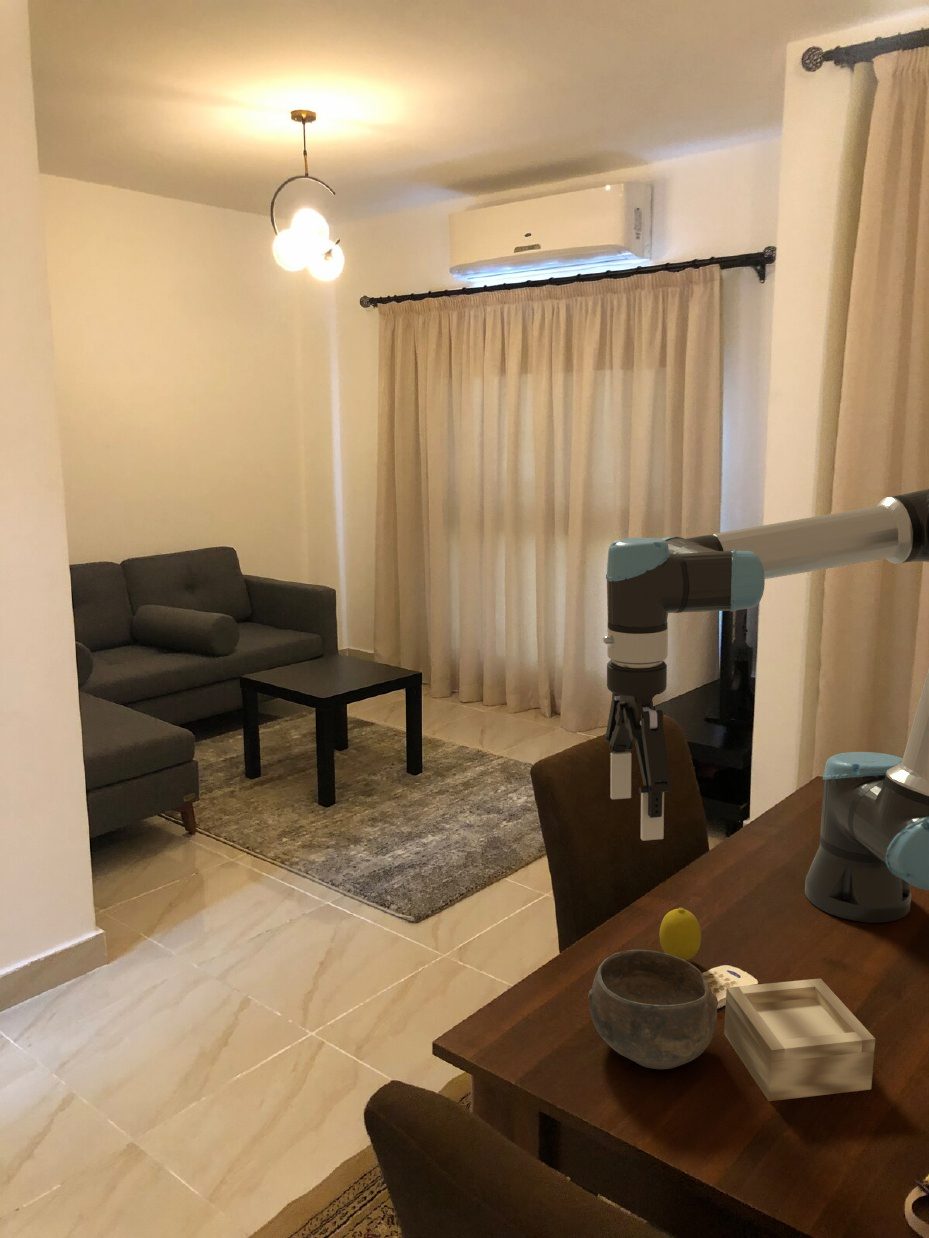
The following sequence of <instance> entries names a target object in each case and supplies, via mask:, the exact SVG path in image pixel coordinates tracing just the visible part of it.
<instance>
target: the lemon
mask: <svg viewBox="0 0 929 1238" xmlns="http://www.w3.org/2000/svg"><path fill="white" fill-rule="evenodd" d="M659 942H660V943H659V944H660V947H661V949H662V951H663V953H666V954H670V955H673V956H676V957H679V958H681V959H683V960H685V961H689V960H691V959H692V958H694V957H695V956H696V955H697V953H698V952H699V949H700V946H701V942H702V931H701V926H700V923H699V921H698V919H697V917H696V916H695V915H694V914H693V913H692V912H691V911H690V910H688V909H685V908H683V907H678V908H675V909H674V908H673V909H672V910H670V911H668V912H667V913H666V914H665V915H664V917H663V919H662V921H661V923H660V927H659Z"/></svg>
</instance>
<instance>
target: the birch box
mask: <svg viewBox="0 0 929 1238" xmlns="http://www.w3.org/2000/svg"><path fill="white" fill-rule="evenodd" d="M725 991H726V992H725V1010H724V1011H725V1012H724V1014H725V1015H724V1030H723V1031H724V1032H723V1034H724V1036H725V1037H726V1040H727V1041H729V1043H730V1045H731V1046H732V1048H733V1049H734V1051H735V1052H736V1054H737V1056H738V1057H739V1059H740V1061H742V1063H743V1064H744V1066H745V1068H746V1069H747V1071H748V1072H749V1074H750V1076H751V1077H752V1078H753V1080H754V1081H755V1083H756V1084H757V1086H758V1087H759V1089H760V1091H761V1092H762V1094H763V1096H764V1097H765V1098H766V1100H767V1102H772V1101H782V1100H790V1099H800V1098H808V1097H816V1096H824V1095H833V1094H834V1095H835V1094H841V1093H842V1094H843V1093H851V1092H859V1091H867V1090H868V1091H869V1090H872V1084H873V1083H872V1082H873V1072H874V1059H875V1049H876V1048H875V1046H876V1038H875V1037H874V1036H873V1035H872V1033H870V1031H869V1030H868V1029H867V1028H866V1027H865V1026H864V1025H863V1023H862V1022H861V1021H860V1020H859V1019H858V1018H857V1017H856V1016H855V1014H853V1013H852V1011H851V1010H850V1009H849V1008H848V1007H847V1006H846V1005H845V1004H844V1002H843V1001H842V1000H841V999H840V998H839V997H838V996H837V995H836V994H835V993H834V991H832V990H831V988H830V987H829V986H828V985H827V983H826V982H824V981H823V979H822V978H812V979H811V978H810V979H801V980H793V981H792V980H791V981H780V982H771V983H770V982H769V983H762V984H761V983H760V984H751V985H739V986H738V985H737V986H729V987H726V989H725Z"/></svg>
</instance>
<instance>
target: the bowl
mask: <svg viewBox="0 0 929 1238" xmlns="http://www.w3.org/2000/svg"><path fill="white" fill-rule="evenodd" d="M593 978H594V979H593V983H592V986H591V989H590V990H589V991H588V995H587V997H588V1001H589V1011H590V1017H591V1021H592V1023H593V1026H594V1028H595V1029H596V1030H595V1031H596V1032H597V1034H598V1035H599V1037H600V1038H601V1039H603V1041H604V1042H605V1043H606V1044H607V1045H608V1046H609V1047H610V1048H611V1049H613V1050H614V1051H615V1052H617V1054H619V1055H621V1056H623V1057H624V1058H626V1059H629V1060H631V1061H633V1062H635V1063H636V1064H638V1065H639V1066H642V1067H644V1068H648V1069H655V1070H671V1069H673V1068H677V1067H678V1068H679V1067H680V1066H683V1065H685V1064H688V1063H691V1062H692V1061H694V1060H695V1059H697V1058H698V1057H699V1056H701V1055H702V1054H703V1053H704V1052H705V1051H706V1049H707V1048H708V1047H709V1045H710V1044H711V1042H712V1040H713V1038H714V1035H715V1030H716V1026H717V1021H718V1006H719V1000H718V997H717V996H716V995H715V994H714V993H713V991H712V990H713V989H712V987H711V986H710V984H709V982H708V979H707V978H706V977H705V975H704V974H703V973H702V972H701V970H700V969H699V968H697V966H696V965H694V964H693V963H691V962H689V960H686V961H685V960H683V959H681V958H679V957H676V956H673V955H670V954H666V953H665V952H662V951H661V952H660V951H656V950H651V949H647V950H646V949H627V950H621V951H619V952H618V951H617V952H615V953H613V954H611V955H609V956H608V957H606V958H605V959H604V960H603V961H602V962H601V963H600V965H599V966H598V968H597V971H596V973H595V974H594V977H593Z"/></svg>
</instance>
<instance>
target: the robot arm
mask: <svg viewBox="0 0 929 1238" xmlns="http://www.w3.org/2000/svg"><path fill="white" fill-rule="evenodd" d="M880 560H881V561H882V560H886V561H888V562H889V563H891V564H892V565H893V564H895V565H899V564H904V563H911V562H914V563H915V562H916V563H917V562H925V563H929V488H926V489H921V490H917V491H912V492H909V493H903V494H899V495H898V494H897V495H893V496H888V497H883V498H882V499H881V500H880V501H879V502H878V503H877V505H876V506H871V507H865V508H858V509H853V510H847V511H841V512H836V513H829V514H823V515H817V516H811V517H806V518H805V517H804V518H798V519H794V520H788V521H783V522H782V521H781V522H776V523H770V524H765V525H759V526H752V527H747V528H740V529H734V530H729V531H724V532H718V533H712V534H707V535H700V536H699V535H698V536H693V537H687V538H684V537H681V536H667V537H662V538H658V537H657V538H656V537H625V538H619V539H616V540H615V541H613V542H612V543H611V544H610V546H609V547H608V553H607V563H606V566H607V567H606V575H605V579H606V595H607V596H606V599H607V600H606V602H607V610H606V611H607V636H603V638H602V640H603V644H604V645H606V646H607V649H606V650H607V651H606V652H607V653H606V654H607V658H608V659H610V660H608V663H606V687H607V689H608V691H610V692H611V704H610V707H609V708H610V709H609V713H608V720H607V725H606V726H607V727H606V732H605V736H604V737H605V738H604V739H605V741H606V743H609V744H608V748H609V751H610V792H609V793H610V795H609V796H610V797H609V798H610V799H611V800H623V799H631V798H632V753H631V751H632V750H634V746H635V749H636V754H637V760H638V764H639V768H640V774H641V779H642V785H643V786H640V787H639V788H638V793H639V794H640V839H641V841H644V842H645V841H653V840H654V841H655V840H663V839H664V836H665V834H664V830H665V829H664V828H665V826H664V824H665V823H664V822H665V820H664V819H665V818H664V817H665V815H664V814H665V813H664V812H665V793H667V792H671V791H672V781H671V775H670V768H669V759H668V752H667V744H666V740H665V739H666V738H665V731H664V712H663V709H662V710H661V709H659V710H657V709H656V707H655V705H654V701H653V699H654V697H656V696H657V695H661V694H663V693H664V692H665V691H666V690H667V680H668V679H667V677H668V676H667V675H668V674H667V673H668V672H667V671H668V665H667V663H666V662H665V660H667V658H668V654H669V653H668V651H669V650H668V645H669V644H668V643H669V642H668V641H669V638H668V637H669V635H668V634H669V628H668V624H669V622H668V616H669V614H682V613H705V612H725V611H726V612H727V611H730V612H734V611H739V610H746V609H747V610H749V609H752V608H755V607H757V605H759V603H760V602H761V600H762V599H763V596H764V592H765V583H766V582H765V580H768V579H774V578H779V577H780V578H781V577H786V576H792V575H798V574H802V573H803V574H804V573H810V572H815V571H822V570H828V569H832V568H839V567H844V566H852V565H855V564H861V563H862V564H864V563H868V562H875V561H880ZM633 743H634V744H635V745H633ZM824 767H825V768H824V770H823V771H824V772H823V776H822V782H823V783H822V784H823V785H822V800H821V801H822V803H821V819H820V835H819V836H820V838H819V847H818V848H817V851H816V853H815V856H814V858H813V860H812V862H811V865H810V867H809V870H808V871H807V873H806V877H805V880H804V881H805V882H804V885H805V886H804V894H805V896H806V898H807V900H808V901H809V902H810V903H811V904H812V905H814V906H815V907H816V908H818V909H820V910H821V911H822V912H825V913H827V914H830V915H832V916H835V917H838V918H842V919H845V920H849V921H854V922H862V923H870V924H871V923H872V924H873V923H874V924H875V923H876V924H877V923H889V922H890V923H891V922H895V921H898V920H900V919H902V918H903V919H904V918H905V917H906V916H907V915H908V914H909V913H910V910H911V904H912V903H911V902H912V892H911V887H910V886H912V887H914V888H917V889H920V890H925V891H929V667H928V669H927V671H926V676H925V679H924V682H923V687H922V690H921V694H920V698H919V701H918V704H917V707H916V711H915V715H914V718H913V721H912V726H911V729H910V732H909V736H908V739H907V743H906V746H905V750H904V753H903V757H901V756H897V755H893V754H890V753H889V754H888V753H883V752H871V751H870V752H869V751H850V752H842V753H837V754H834V755H832V756H830V757H829V758H828V759H827V760H826V762H825V765H824Z"/></svg>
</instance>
